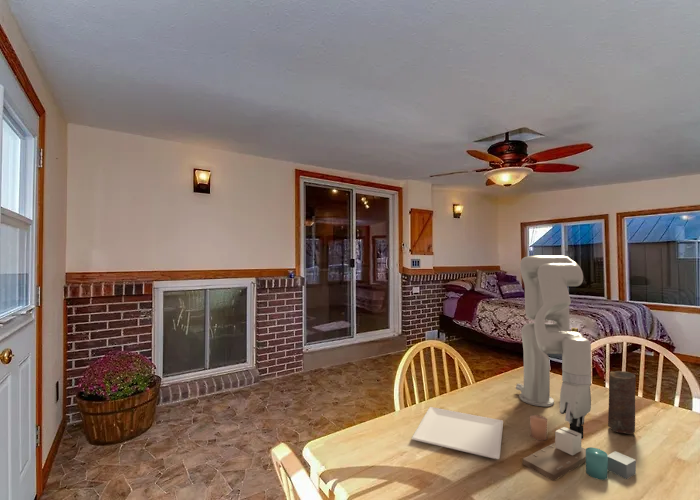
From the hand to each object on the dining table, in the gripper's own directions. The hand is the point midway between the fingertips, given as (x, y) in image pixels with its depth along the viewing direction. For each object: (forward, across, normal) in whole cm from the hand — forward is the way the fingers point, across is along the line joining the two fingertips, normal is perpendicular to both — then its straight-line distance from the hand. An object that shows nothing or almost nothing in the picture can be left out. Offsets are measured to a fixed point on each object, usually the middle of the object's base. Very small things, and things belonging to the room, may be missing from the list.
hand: (576, 437), depth 111 cm
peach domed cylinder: (+4, +2, -11) cm, 12 cm away
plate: (+5, +22, -26) cm, 35 cm away
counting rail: (+4, +10, 0) cm, 11 cm away
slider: (+2, +5, 0) cm, 5 cm away
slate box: (+4, +1, +12) cm, 13 cm away
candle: (+4, -25, +2) cm, 26 cm away
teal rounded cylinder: (+4, +8, +9) cm, 12 cm away
